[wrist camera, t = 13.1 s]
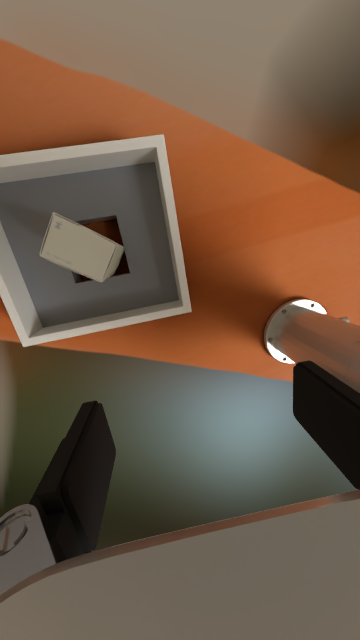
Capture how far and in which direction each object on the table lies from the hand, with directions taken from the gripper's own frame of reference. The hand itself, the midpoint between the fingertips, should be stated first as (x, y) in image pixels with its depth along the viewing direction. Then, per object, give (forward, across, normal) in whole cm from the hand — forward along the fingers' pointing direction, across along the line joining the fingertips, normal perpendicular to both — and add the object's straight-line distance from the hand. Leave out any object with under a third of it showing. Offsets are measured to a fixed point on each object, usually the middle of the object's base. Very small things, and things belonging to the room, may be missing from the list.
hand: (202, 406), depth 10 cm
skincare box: (+26, +9, -9) cm, 29 cm away
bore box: (+26, +9, -9) cm, 29 cm away
